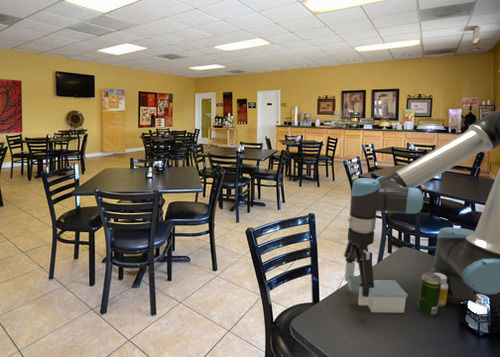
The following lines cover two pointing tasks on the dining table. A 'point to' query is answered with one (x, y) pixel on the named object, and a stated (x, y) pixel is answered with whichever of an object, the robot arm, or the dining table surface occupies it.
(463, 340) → the dining table surface
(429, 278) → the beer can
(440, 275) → the supplement bottle
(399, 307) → the tub
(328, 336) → the dining table surface
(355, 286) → the lid
